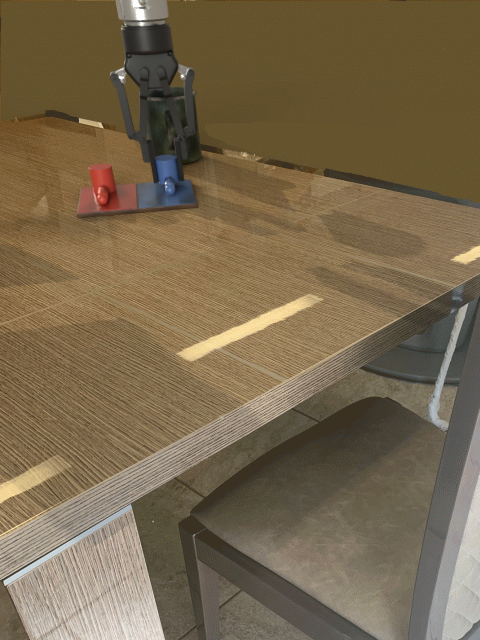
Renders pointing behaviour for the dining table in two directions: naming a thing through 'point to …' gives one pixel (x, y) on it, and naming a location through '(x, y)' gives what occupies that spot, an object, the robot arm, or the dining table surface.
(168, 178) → the blue knobbed cylinder
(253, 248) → the dining table surface
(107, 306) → the dining table surface
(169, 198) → the sorting board
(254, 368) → the dining table surface
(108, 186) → the red cylinder with knob
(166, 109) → the mug
